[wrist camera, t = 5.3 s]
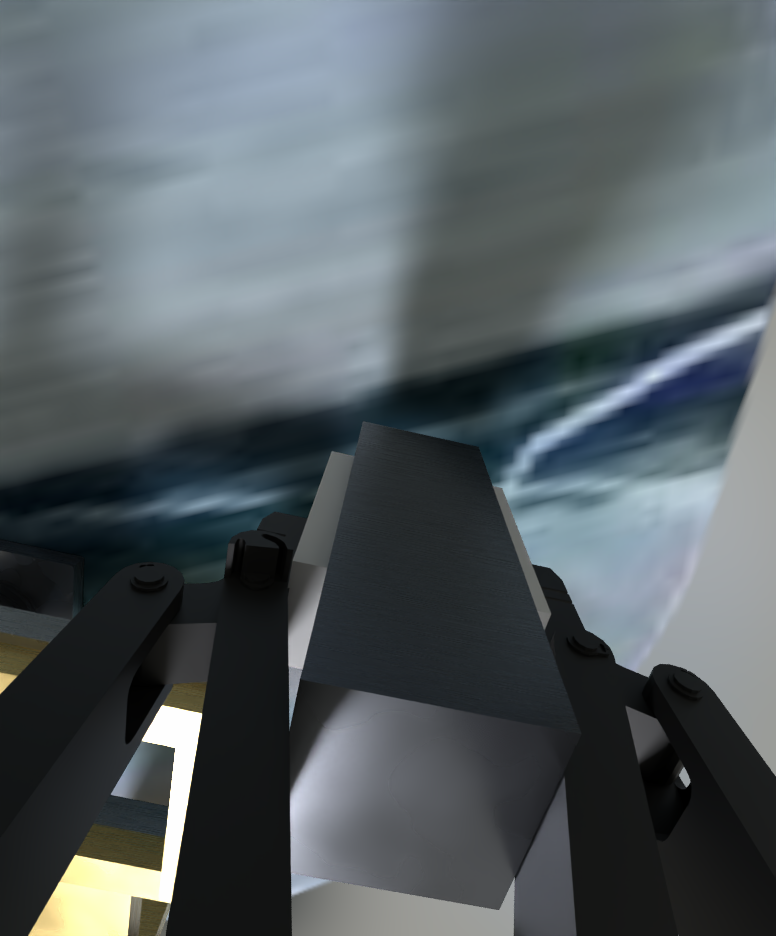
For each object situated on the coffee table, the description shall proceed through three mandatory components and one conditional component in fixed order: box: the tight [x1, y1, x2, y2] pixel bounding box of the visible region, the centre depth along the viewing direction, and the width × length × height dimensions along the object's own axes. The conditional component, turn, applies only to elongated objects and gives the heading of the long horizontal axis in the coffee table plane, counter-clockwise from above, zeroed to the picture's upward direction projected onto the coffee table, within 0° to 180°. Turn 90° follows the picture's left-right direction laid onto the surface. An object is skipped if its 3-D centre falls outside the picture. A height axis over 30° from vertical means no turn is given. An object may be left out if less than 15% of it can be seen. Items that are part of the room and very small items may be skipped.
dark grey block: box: [289, 421, 581, 910], centre depth 14 cm, size 4×4×12 cm
